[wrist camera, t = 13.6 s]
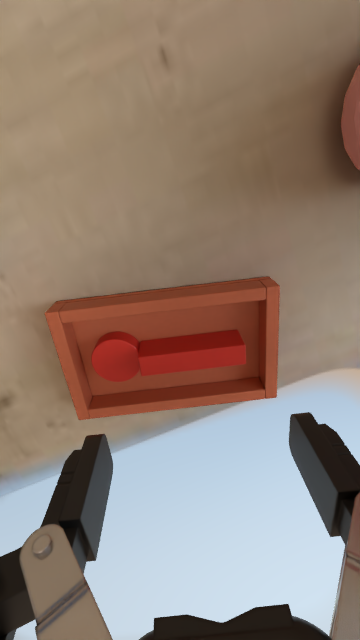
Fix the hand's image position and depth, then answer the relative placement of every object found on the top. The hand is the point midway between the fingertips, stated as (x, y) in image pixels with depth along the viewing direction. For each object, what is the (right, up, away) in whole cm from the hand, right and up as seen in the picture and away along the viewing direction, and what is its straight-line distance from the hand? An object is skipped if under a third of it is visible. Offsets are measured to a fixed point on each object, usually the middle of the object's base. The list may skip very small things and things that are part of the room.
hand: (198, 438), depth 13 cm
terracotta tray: (-2, +4, +8) cm, 8 cm away
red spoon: (-2, +3, +7) cm, 8 cm away
